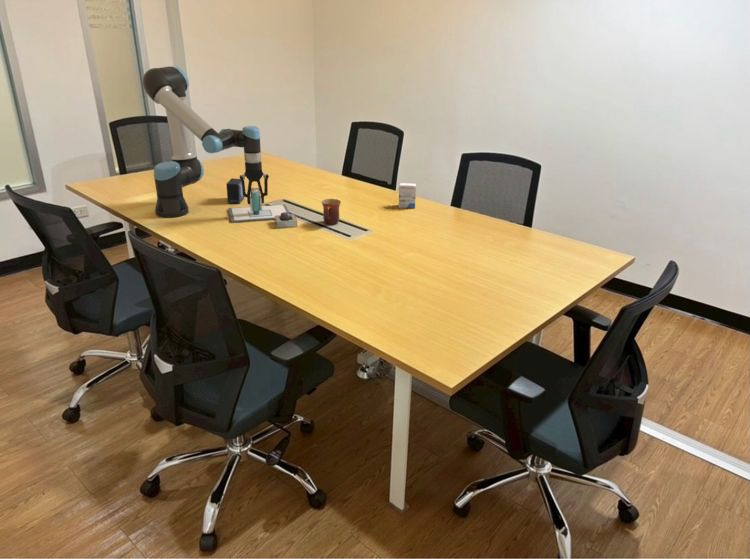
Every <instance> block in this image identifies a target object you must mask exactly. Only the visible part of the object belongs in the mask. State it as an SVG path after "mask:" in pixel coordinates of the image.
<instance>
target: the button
mask: <svg viewBox="0 0 750 559" xmlns="http://www.w3.org/2000/svg"><path fill="white" fill-rule="evenodd" d="M290 214H291V212H290V213H288V212H283V213H281V220H291V215H290Z"/></svg>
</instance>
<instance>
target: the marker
mask: <svg viewBox="0 0 750 559" xmlns="http://www.w3.org/2000/svg"><path fill="white" fill-rule="evenodd" d="M260 196H261V194H260V190H259V187H251V193H250V197H251V198H252V210H253V214H254V215H258V214H260V212H259V210H260Z"/></svg>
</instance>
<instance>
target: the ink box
mask: <svg viewBox="0 0 750 559" xmlns="http://www.w3.org/2000/svg"><path fill="white" fill-rule="evenodd" d="M416 198H417V183H404V182H400V183H399V187H398V205H397V206H398V208H400V209H401V208H402V209H416Z"/></svg>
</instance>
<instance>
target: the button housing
mask: <svg viewBox="0 0 750 559" xmlns="http://www.w3.org/2000/svg"><path fill="white" fill-rule="evenodd" d="M290 215H291V220H281V215H276V216H275V220H274V223H275V226H276V228H277V229H282V228H283V229H286V228H297V227H298V219H297V218H296V216H295V213H294V214H293V213H290Z"/></svg>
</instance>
